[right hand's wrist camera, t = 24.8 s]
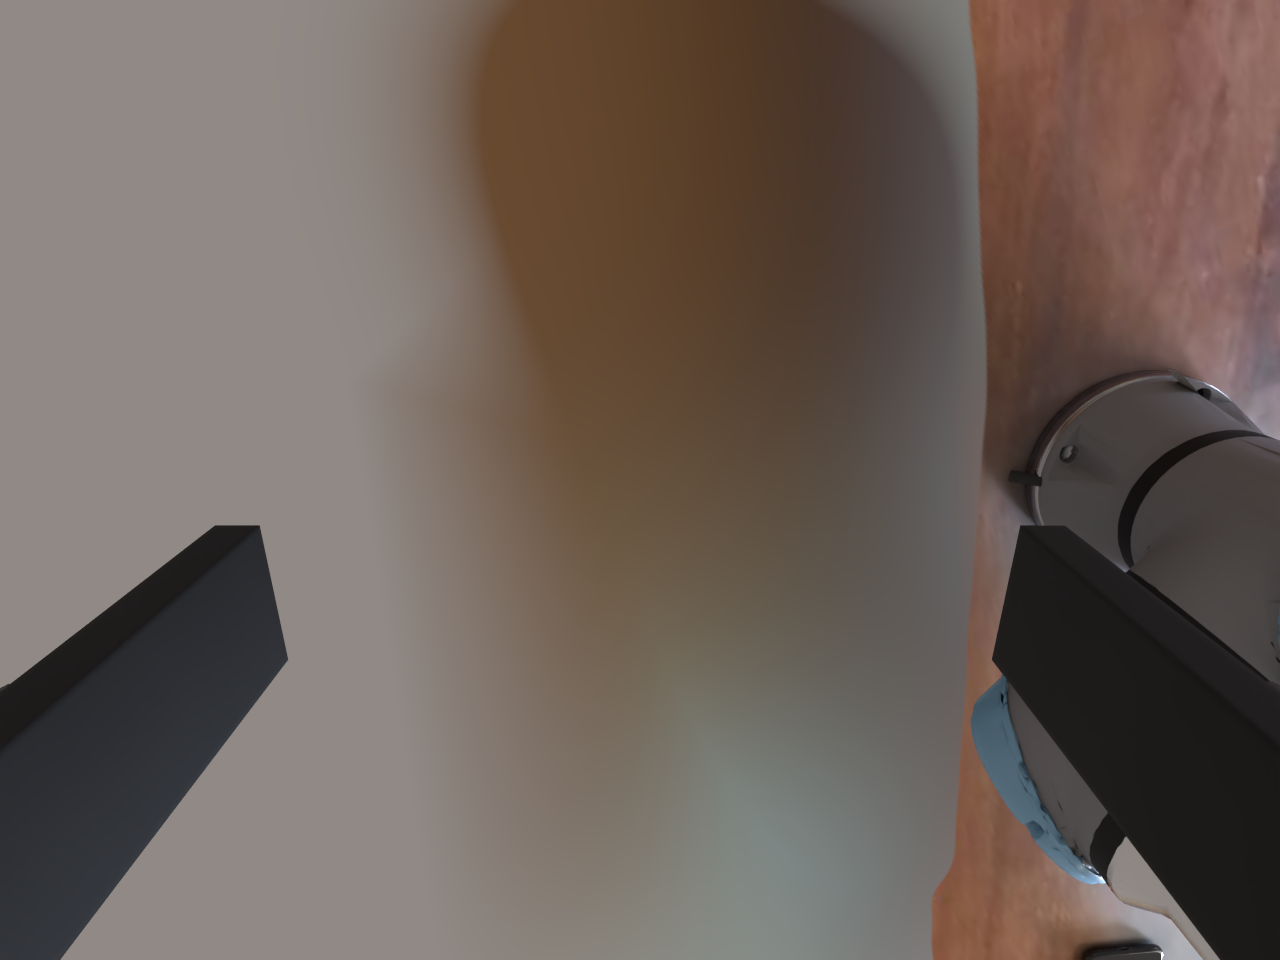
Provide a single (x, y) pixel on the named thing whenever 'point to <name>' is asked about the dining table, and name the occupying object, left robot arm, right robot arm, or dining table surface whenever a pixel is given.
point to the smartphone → (1126, 953)
